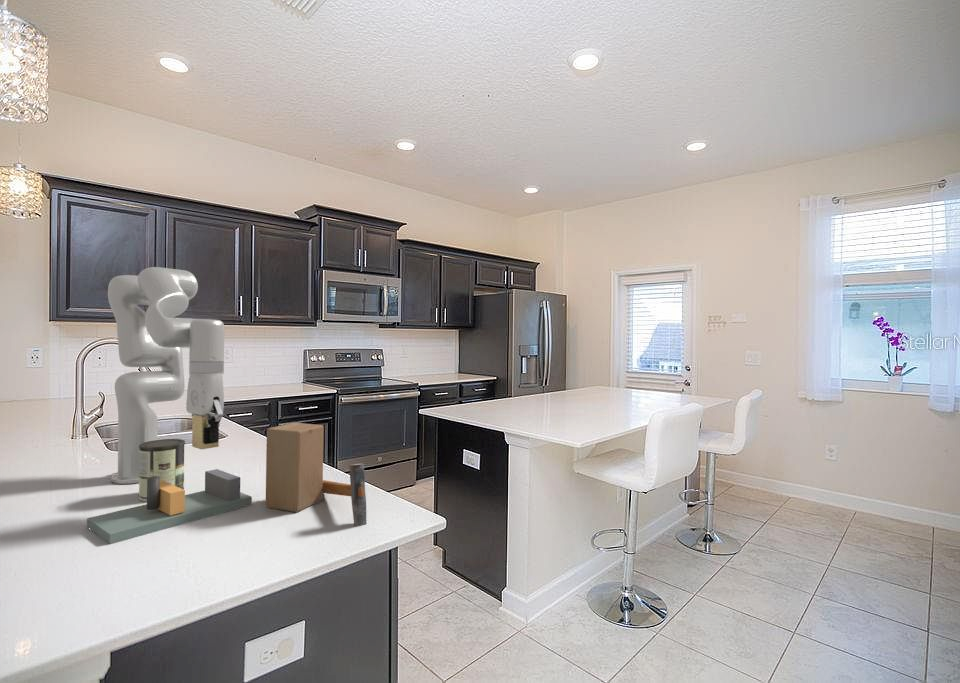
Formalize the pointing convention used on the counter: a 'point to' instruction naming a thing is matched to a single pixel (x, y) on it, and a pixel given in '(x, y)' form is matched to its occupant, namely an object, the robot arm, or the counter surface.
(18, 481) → the counter surface
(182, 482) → the coffee can
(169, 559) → the counter surface
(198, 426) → the brass block
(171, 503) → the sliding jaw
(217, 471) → the vise
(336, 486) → the hammer
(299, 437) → the wooden block
